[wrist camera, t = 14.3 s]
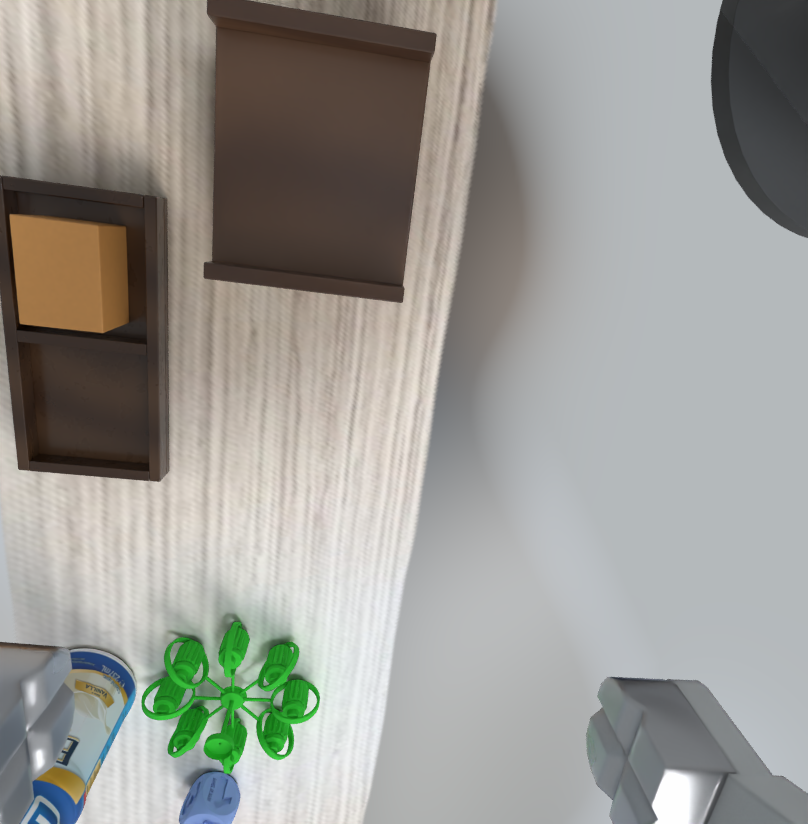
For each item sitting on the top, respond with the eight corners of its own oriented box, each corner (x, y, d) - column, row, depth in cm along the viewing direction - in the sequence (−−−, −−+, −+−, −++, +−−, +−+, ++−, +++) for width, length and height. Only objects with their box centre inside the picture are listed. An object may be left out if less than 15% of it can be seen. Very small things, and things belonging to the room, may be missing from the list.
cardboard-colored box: (46, 215, 35) (8, 213, 31) (126, 225, 36) (97, 225, 32) (54, 315, 37) (19, 325, 33) (129, 323, 38) (103, 334, 34)
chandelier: (316, 743, 52) (309, 818, 45) (155, 739, 51) (124, 815, 44) (326, 615, 47) (319, 677, 41) (149, 607, 46) (113, 669, 39)
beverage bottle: (52, 720, 49) (-146, 1027, 30) (32, 645, 46) (-199, 930, 27) (147, 715, 50) (11, 1014, 31) (133, 641, 47) (-25, 918, 28)
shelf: (7, 176, 35) (-13, 173, 33) (167, 198, 36) (156, 196, 34) (33, 459, 41) (18, 470, 39) (169, 470, 42) (160, 482, 40)
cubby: (258, 69, 34) (206, -8, 23) (415, 94, 35) (436, 32, 24) (250, 264, 38) (203, 278, 27) (392, 282, 39) (402, 303, 28)
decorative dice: (244, 781, 53) (234, 823, 49) (222, 805, 54) (211, 849, 50) (208, 764, 52) (196, 806, 48) (187, 790, 53) (173, 833, 49)
